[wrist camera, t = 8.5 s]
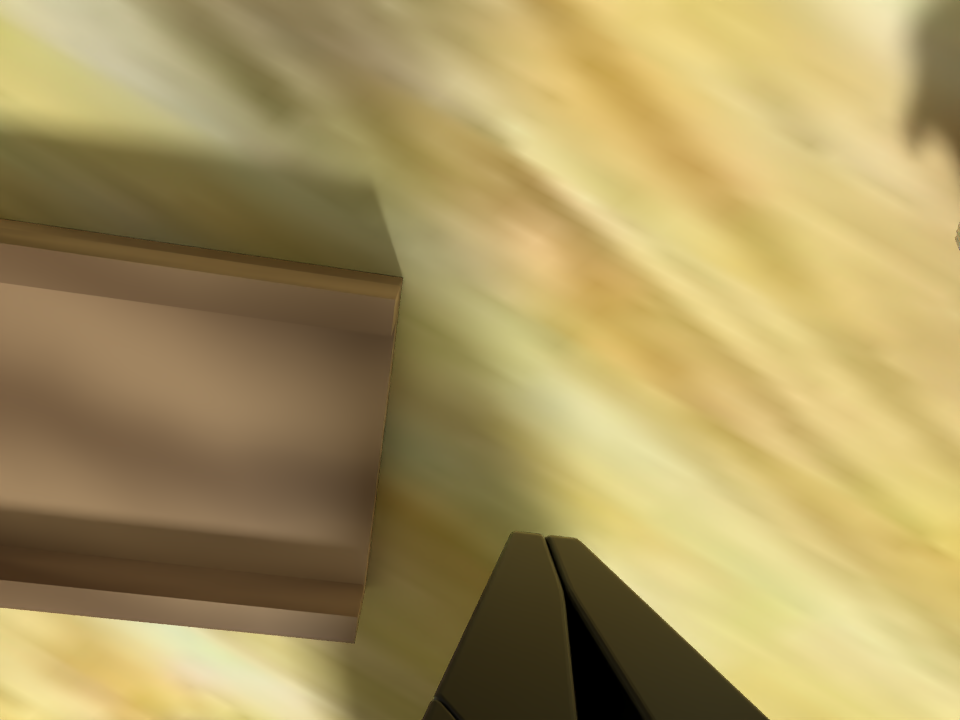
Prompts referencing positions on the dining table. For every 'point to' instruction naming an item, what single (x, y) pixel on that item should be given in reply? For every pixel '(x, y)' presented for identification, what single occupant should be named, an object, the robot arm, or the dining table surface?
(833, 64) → the dining table surface
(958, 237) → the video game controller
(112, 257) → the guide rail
